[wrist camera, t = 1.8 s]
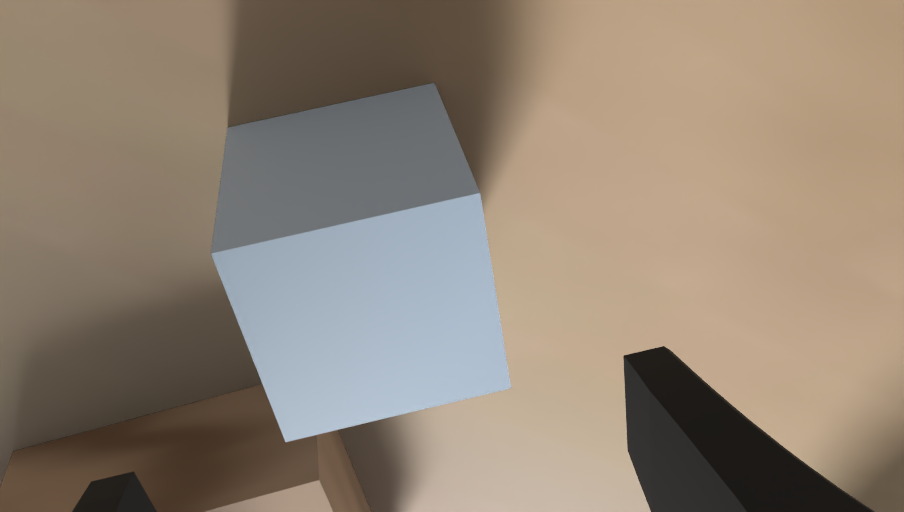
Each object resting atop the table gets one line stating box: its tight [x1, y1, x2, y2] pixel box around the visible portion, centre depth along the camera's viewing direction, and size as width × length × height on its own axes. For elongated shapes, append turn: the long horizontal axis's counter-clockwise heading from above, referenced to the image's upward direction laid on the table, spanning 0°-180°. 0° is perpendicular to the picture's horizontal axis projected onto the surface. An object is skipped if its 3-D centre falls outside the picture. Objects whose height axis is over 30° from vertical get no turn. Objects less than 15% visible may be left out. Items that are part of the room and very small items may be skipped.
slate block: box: [211, 83, 511, 442], centre depth 17 cm, size 4×4×5 cm
